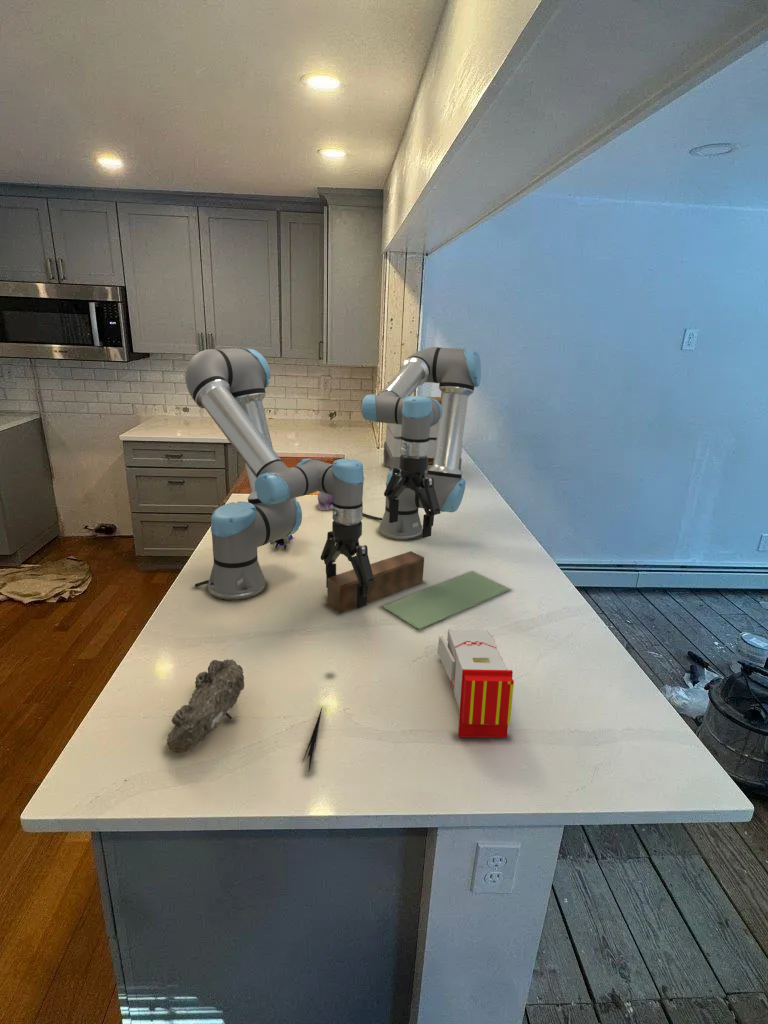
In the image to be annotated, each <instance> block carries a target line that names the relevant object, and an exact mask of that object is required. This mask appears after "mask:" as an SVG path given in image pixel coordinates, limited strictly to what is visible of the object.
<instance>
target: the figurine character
mask: <svg viewBox="0 0 768 1024" xmlns="http://www.w3.org/2000/svg"><path fill="white" fill-rule="evenodd" d="M292 539H294V536H293V534H292V535H290V536H288V537H286V538H284V539H279V540H276V541H273V542H271V543H269V545H271V546H274V549H275V550H277V549H278V547H279V546H283V548H282V549H283V550H286V549H287V546H289V544H290V541H292Z"/></svg>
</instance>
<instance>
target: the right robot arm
mask: <svg viewBox="0 0 768 1024" xmlns="http://www.w3.org/2000/svg"><path fill="white" fill-rule="evenodd" d="M481 378H482V365H481V357H480V354H479V352H478V351H477V350H474V349H469V348H459V347H458V348H457V347H455V348H454V347H439V346H431V347H426V348H423V349H421V350H418V351H416V352H414V353H412V354H411V355H409V356H408V357H407V358H406V359H405V360H404V361H403V362H402V363H401V367H400V370H399V371H398V372H397V374H396V375H395V376H394V377H393V378H392V379H391V380H390V381H389V382H388V383H387V384H386V386H385V387H384V388H383V389H382V390H381V391H380V392H379V393H378V394H375V393H374V394H366V395H365V396H364V398H363V400H362V402H361V415H362V418H363V419H364V420H365V421H368V422H374V423H381V424H385V423H386V424H387V423H392V424H400V425H402V431H401V450H400V453H401V454H402V455H401V456H400V466H399V467H397V468H393V470H391V471H390V470H389V472H388V473H387V475H386V482H385V490H384V492H383V496H384V497H385V504H384V505H385V507H384V508H385V509H384V513H383V515H382V517H378V516H375V515H374V516H373V515H370V514H366V513H365V512H363V517H365V518H369V519H372V520H377V521H381V522H379V526H378V533H379V534H380V535H381V536H382V537H385V538H387V539H389V540H395V541H410V540H415V539H418V538H420V537H421V538H423V539H425V538H429V537H432V527H434V523H435V516H437V515H440V514H441V513H444V512H446V513H455V512H457V511H458V510H459V508H460V506H461V504H462V502H463V498H464V495H465V490H466V485H467V484H466V483H467V482H466V480H465V479H464V478H462V477H463V473H462V471H461V472H460V470H459V468H458V466H459V459H460V452H461V445H462V446H463V443H462V441H463V438H464V432H463V431H465V430H464V429H465V423H466V417H467V416H466V415H467V408H468V403H469V401H468V400H469V397H470V396H472V394H474V392H475V388H478V387H480V384H481ZM425 383H431V384H439V385H438V389H439V391H440V393H441V392H442V394H443V395H442V403H441V404H440V403H439V402H438V401H437V400H435V399H433V398H428V397H429V396H423V395H413V394H414V392H415V391H416V390H417V388H418V387H419V386H422V385H424V384H425ZM438 421H439V425H438V432H437V439H436V447H435V454H434V461H433V465H430V466H429V468H428V466H427V464H428V458H427V455H428V450H429V434H430V427H431V426H433V425H435V424H436V423H437V422H438ZM426 471H427V473H426ZM419 509H423V510H424V513H425V514H423V515H422V516H423V519H422V524H421V518H420V515H419Z"/></svg>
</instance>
